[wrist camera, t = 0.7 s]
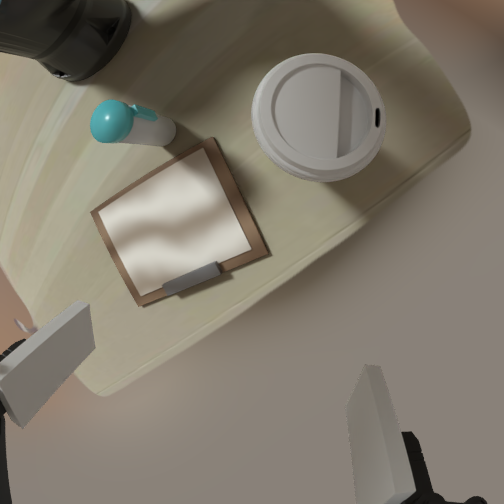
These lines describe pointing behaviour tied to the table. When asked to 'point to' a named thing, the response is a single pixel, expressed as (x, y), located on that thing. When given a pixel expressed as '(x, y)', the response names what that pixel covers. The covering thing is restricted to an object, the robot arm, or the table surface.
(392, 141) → the table surface
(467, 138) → the table surface
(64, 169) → the table surface
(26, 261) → the table surface
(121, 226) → the clipboard
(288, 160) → the coffee cup
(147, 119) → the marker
